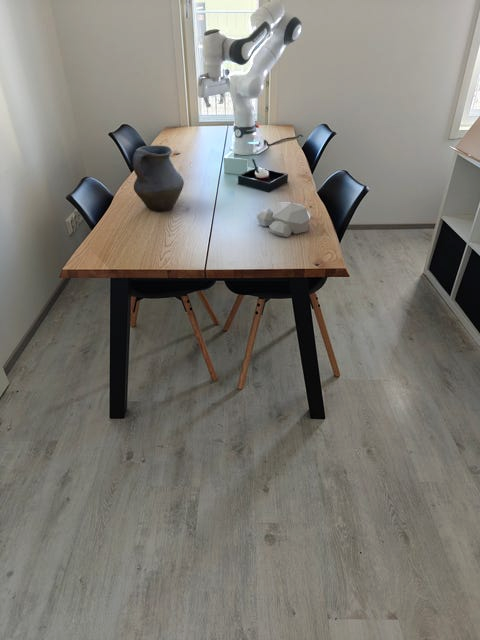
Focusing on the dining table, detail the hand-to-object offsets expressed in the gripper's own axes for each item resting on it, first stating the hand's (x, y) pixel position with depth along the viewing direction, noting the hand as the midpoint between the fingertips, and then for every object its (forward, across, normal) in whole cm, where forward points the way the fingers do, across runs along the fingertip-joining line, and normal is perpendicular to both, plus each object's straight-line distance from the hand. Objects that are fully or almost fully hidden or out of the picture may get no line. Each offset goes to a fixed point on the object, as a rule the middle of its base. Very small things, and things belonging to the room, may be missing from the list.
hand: (214, 105), depth 209 cm
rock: (+29, -40, -67) cm, 83 cm away
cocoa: (+29, -8, -33) cm, 44 cm away
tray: (+29, -6, -33) cm, 44 cm away
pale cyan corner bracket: (+29, +2, -13) cm, 32 cm away
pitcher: (+29, -55, -15) cm, 64 cm away
